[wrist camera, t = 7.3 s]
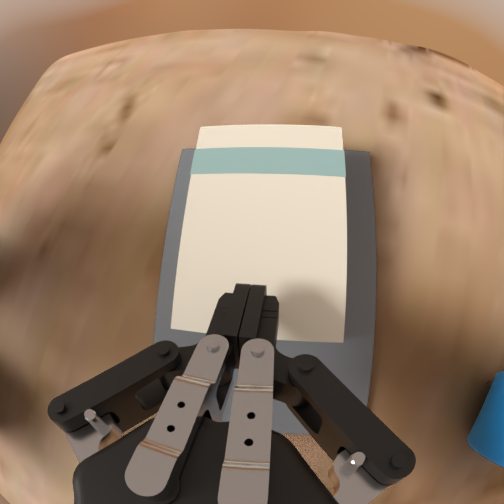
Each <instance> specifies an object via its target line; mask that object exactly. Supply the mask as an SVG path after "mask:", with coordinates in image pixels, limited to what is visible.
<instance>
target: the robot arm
mask: <svg viewBox="0 0 504 504" xmlns="http://www.w3.org/2000/svg"><path fill="white" fill-rule="evenodd" d="M278 325H279V302H278V300H277V297H276V296H268V295H267V287H266V285H255V284H252V285H251V284H241V283H236V285H235V288H234V291H233V293H224V294H223V295H222V296H221V297H220V298H219V300H218V302H217V305H216V308H215V311H214V314H213V316H212V319H211V322H210V325H209V327H208V330H207V333H206V336H205V337H203V338H202V339H201V340H200V341H199V342H198V343H197V344H195V345H192V346H185V347H178V346H177V345H176V344H175V343H174V342H172V341H168V340H164V341H159V342H157V343H155V344H153V345H151V346H150V347H148V348H146V349H144V350H143V351H141V352H139V353H137V354H135V355H134V356H132V357H130V358H128V359H126V360H125V361H123V362H121V363H119V364H117V365H116V366H114V367H112V368H110V369H108V370H107V371H105V372H103V373H101V374H99V375H97V376H96V377H94V378H92V379H90V380H88V381H86V382H84V383H83V384H81V385H79V386H77V387H75V388H73V389H71V390H69V391H67V392H66V393H64V394H62V395H60V396H58V397H56V398H54V399H53V400H52V401H51V403H50V404H49V407H48V415H49V417H50V419H51V420H52V421H53V422H54V423H55V424H57V425H58V426H59V427H60V428H61V429H62V430H63V431H64V432H65V433H66V435H67V438H68V440H69V442H70V444H71V446H72V449H73V451H74V453H75V455H76V457H77V459H78V461H79V465H78V466H77V467H76V469H75V472H74V475H73V489H74V504H368V503H369V502H371V501H372V500H373V499H374V498H376V497H377V496H378V495H379V494H380V493H382V492H383V491H385V490H387V489H389V488H391V487H392V486H394V485H395V484H397V483H398V482H400V481H401V480H402V479H403V478H404V477H406V476H407V475H409V474H410V473H411V472H412V470H413V469H414V466H415V462H416V460H415V455H414V453H413V451H412V450H411V449H410V448H409V447H408V446H407V445H406V444H405V443H403V442H402V441H401V440H400V439H399V438H398V437H397V436H396V435H395V434H394V433H393V432H392V431H391V430H390V429H389V428H388V427H387V426H386V425H385V424H384V423H383V422H382V421H381V420H380V419H379V418H378V417H376V416H375V415H374V414H373V413H372V412H371V411H370V410H369V409H368V408H367V407H366V406H365V405H364V404H363V403H362V402H361V401H360V400H359V399H358V398H357V397H356V396H355V395H354V394H353V393H352V392H351V391H350V390H349V389H348V388H347V387H346V386H345V385H344V384H343V383H342V382H341V381H340V380H339V379H338V378H337V377H336V376H335V375H334V374H333V373H332V372H331V371H330V370H329V369H328V368H327V367H326V366H325V365H324V364H323V363H322V362H321V361H320V360H319V359H318V358H317V357H315V356H313V355H310V354H301V355H298V356H296V357H294V358H290V357H287V356H285V355H283V354H281V353H280V352H279V351H278V350H277V349H276V342H277V333H278ZM234 369H239V371H238V379H237V386H235V388H234V393H233V400H232V407H231V415H230V421H228V422H222V419H223V413H224V410H225V407H226V404H227V401H228V398H229V395H230V392H231V389H232V386H233V383H234V377H233V373H234ZM273 399H275V400H278V401H281V402H283V403H286V405H287V407H288V408H289V409H290V411H291V412H292V413H293V414H294V416H295V417H296V418H297V419H298V420H299V422H300V423H301V424H302V425H303V426H304V428H305V429H306V430H307V431H308V432H309V434H310V435H311V436H312V437H313V438H314V439H315V441H316V442H317V443H318V444H319V445H320V446H321V448H322V449H323V450H324V451H325V452H326V453H327V454H328V456H329V457H330V458H331V459H332V460H333V463H332V464H331V466H330V468H329V471H328V475H329V479H330V480H331V482H332V484H333V487H334V492H333V495H332V494H331V493H330V492H329V491H328V489H327V488H326V487H325V486H324V484H323V483H322V482H321V481H320V479H319V478H318V477H317V475H316V474H315V473H314V472H313V470H312V469H311V468H310V466H309V465H308V464H307V462H306V461H305V460H304V458H303V457H302V456H301V454H300V453H299V452H298V450H297V449H296V448H295V446H294V445H293V444H292V443H291V442H290V441H289V440H288V439H287V438H286V437H284V436H283V435H281V434H280V433H278V432H276V431H274V430H271V429H272V405H273ZM157 412H158V413H157ZM155 413H157V415H156V417H155V418H152V419H150V420H148V421H147V422H145V423H144V424H142V425H141V426H139V427H137V428H136V429H134V430H133V431H131V432H129V433H128V434H126V435H125V436H123V437H122V433H123V432H125V431H126V430H128V429H130V428H131V427H133V426H135V425H137V424H138V423H140V422H142V421H143V420H145V419H147V418H148V417H150V416H152V415H153V414H155Z"/></svg>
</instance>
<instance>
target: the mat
mask: <svg viewBox="0 0 504 504" xmlns="http://www.w3.org/2000/svg"><path fill="white" fill-rule="evenodd" d="M195 149H196V148H194V149H182V152H181V157H180V161H179V166H178V171H177V176H176V181H175V186H174V191H173V196H172V202H171V207H170V213H169V219H168V225H167V231H166V237H165V244H164V251H163V258H162V265H161V273H160V281H159V289H158V298H157V308H156V318H155V329H154V341H153V344H155V343H157V342H159V341H164V340H168V341H172V342H174V343H175V344H176V345H177V346H178V347H185V346H192V345H195V344H197V343H198V342H199V341H200V340H201V339H202V338H203V337H205V336H206V333H200V332H192V331H185V330H177V329H171V319H172V308H173V298H174V289H175V280H176V272H177V263H178V256H179V248H180V241H181V234H182V227H183V220H184V214H185V207H186V201H187V195H188V189H189V183H190V178H191V174H190V172H191V167H192V162H193V156H194V151H195ZM344 154H345V168H346V178H345V184H346V210H347V283H346V308H345V326H344V340H343V343H337V342H308V341H288V340H277V342H276V349H277V350H278V351H279V352H280V353H281V354H283V355H285V356H287V357H290V358H294V357H296V356H298V355H301V354H310V355H313V356H315V357H317V358H318V359H319V360H320V361H321V362H322V363H323V364H324V365H325V366H326V367H327V368H328V369H329V370H330V371H331V372H332V373H333V374H334V375H335V376H336V377H337V378H338V379H339V380H340V381H341V382H342V383H343V384H344V385H345V386H346V387H347V388H348V389H349V390H350V391H351V392H352V393H353V394H354V395H355V396H356V397H357V398H358V399H359V400H360V401H361V402H362V403H363V404H364V405H365V406H366V407H367V403H368V396H369V388H370V379H371V370H372V360H373V349H374V335H375V317H376V282H377V262H376V226H375V208H374V194H373V183H372V172H371V163H370V155H369V152H364V151H353V150H344ZM238 371H239V369H234V373H233V377H234V383H233V386H232V389H231V392H230V395H229V398H228V401H227V404H226V407H225V410H224V413H223V419H222V422H228V421H230V415H231V407H232V400H233V393H234V388H235V386H237V379H238ZM157 413H158V412H157ZM271 430H274V431H276V432H278V433H286V434H308V435H310V434H309V432H308V431H307V430H306V429H305V428H304V426H303V425H302V424H301V423H300V422H299V420H298V419H297V418H296V417H295V416H294V414H293V413H292V412H291V411H290V409H289V408H288V407H287V405H286V403H283V402H281V401H278V400H275V399H273V405H272V429H271Z"/></svg>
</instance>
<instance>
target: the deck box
mask: <svg viewBox="0 0 504 504" xmlns="http://www.w3.org/2000/svg"><path fill="white" fill-rule="evenodd" d="M190 174H191V178H190V183H189V189H188V195H187V201H186V207H185V214H184V220H183V227H182V234H181V241H180V248H179V256H178V263H177V272H176V280H175V289H174V298H173V308H172V319H171V329H177V330H185V331H192V332H200V333H207V330H208V327H209V325H210V322H211V319H212V316H213V314H214V311H215V308H216V305H217V302H218V300H219V298H220V297H221V296H222V295H223V294H224V293H233V291H234V288H235V285H236V283H241V284H251V285H252V284H255V285H266V287H267V295H268V296H276V297H277V300H278V302H279V325H278V333H277V340H288V341H308V342H337V343H343V340H344V326H345V308H346V283H347V210H346V184H345V178H346V168H345V154H344V150H343V140H342V129H341V127H331V126H313V125H274V124H263V125H224V126H206V127H200V131H199V136H198V141H197V146H196V149H195V151H194V156H193V162H192V167H191V172H190Z"/></svg>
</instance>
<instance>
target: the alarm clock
mask: <svg viewBox="0 0 504 504" xmlns="http://www.w3.org/2000/svg"><path fill="white" fill-rule="evenodd" d="M487 383H488V384H490V385H491V387H490V390H489V392H488V395H487V397H486V399H485V402H484V404H483V406H482V408H481V411H480V413H479V415H478V417H477V419H476V421H475V423H474V425H473V427H472V429H471V431H470V433H469V435H468V437H467V442H468V444H469V446H470V447H471V448H472V449H473V450H474V451H476V452H477V453H478V454H480V455H481V456H483V457H485V458H486V459H488V460H490V461H492V462H493V463H495V464H497V465H499V466H501V467H503V468H504V370H503V371H500V372H498V373H497V374H496V375H495V377H494V380H493V381H488V382H487Z"/></svg>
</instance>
